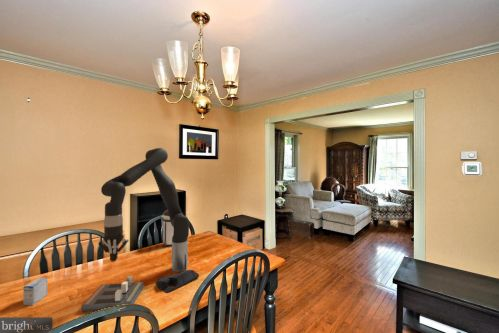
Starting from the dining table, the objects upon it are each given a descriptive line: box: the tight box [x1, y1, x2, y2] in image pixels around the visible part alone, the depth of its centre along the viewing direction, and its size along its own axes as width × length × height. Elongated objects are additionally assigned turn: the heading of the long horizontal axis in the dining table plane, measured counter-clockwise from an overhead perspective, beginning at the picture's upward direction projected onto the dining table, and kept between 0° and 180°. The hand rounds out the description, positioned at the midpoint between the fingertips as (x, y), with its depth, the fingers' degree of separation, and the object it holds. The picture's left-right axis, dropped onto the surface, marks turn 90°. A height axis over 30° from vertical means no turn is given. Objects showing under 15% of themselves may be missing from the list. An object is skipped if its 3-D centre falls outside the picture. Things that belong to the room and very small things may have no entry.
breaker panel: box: [81, 275, 144, 313], centre depth 107 cm, size 20×17×7 cm
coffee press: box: [160, 209, 174, 248], centre depth 182 cm, size 17×16×30 cm
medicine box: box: [22, 277, 48, 306], centre depth 106 cm, size 8×4×9 cm, turn 5°
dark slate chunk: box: [154, 269, 200, 293], centre depth 125 cm, size 15×22×5 cm
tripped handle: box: [121, 281, 128, 293], centre depth 108 cm, size 2×2×4 cm
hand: (113, 260), depth 107 cm, fingers closed
